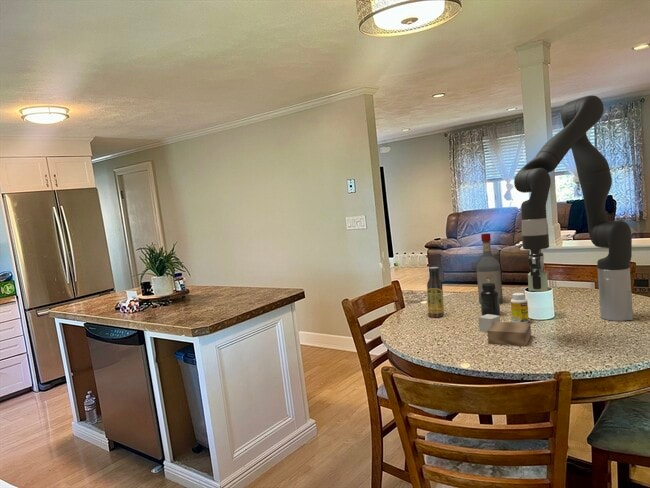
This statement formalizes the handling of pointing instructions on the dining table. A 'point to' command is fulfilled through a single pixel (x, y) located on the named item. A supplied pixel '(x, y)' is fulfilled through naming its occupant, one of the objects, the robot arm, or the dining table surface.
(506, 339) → the walnut block
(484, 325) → the grey cube
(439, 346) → the dining table surface
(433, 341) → the dining table surface
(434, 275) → the sauce bottle
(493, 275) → the liquor
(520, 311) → the supplement bottle
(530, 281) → the sage cube
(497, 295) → the supplement bottle
